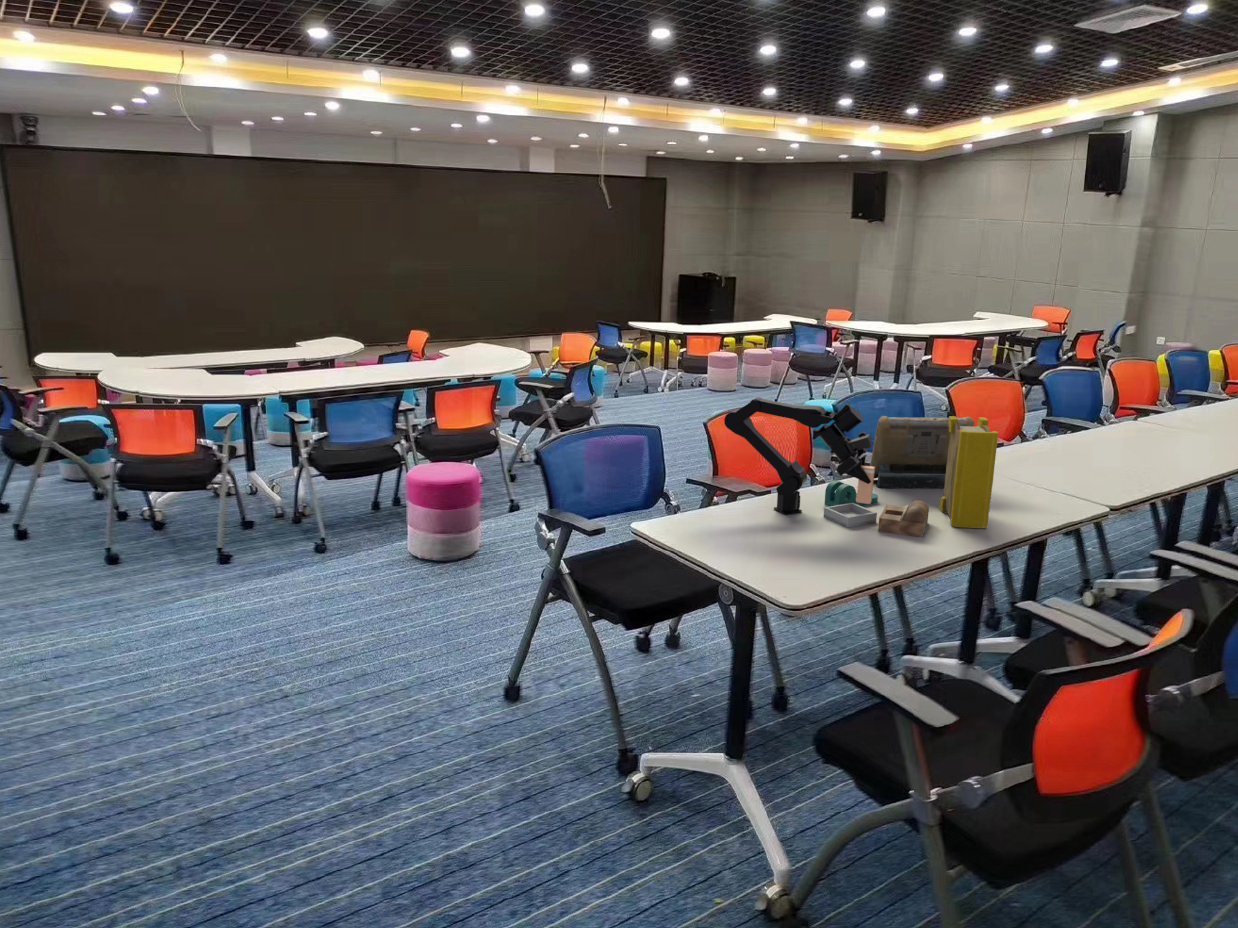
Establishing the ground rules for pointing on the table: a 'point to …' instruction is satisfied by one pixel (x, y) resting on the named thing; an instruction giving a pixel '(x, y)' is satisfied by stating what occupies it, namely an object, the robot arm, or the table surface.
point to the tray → (850, 514)
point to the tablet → (912, 452)
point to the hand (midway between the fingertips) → (870, 481)
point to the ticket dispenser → (905, 519)
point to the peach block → (866, 486)
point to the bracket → (843, 494)
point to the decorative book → (969, 474)
